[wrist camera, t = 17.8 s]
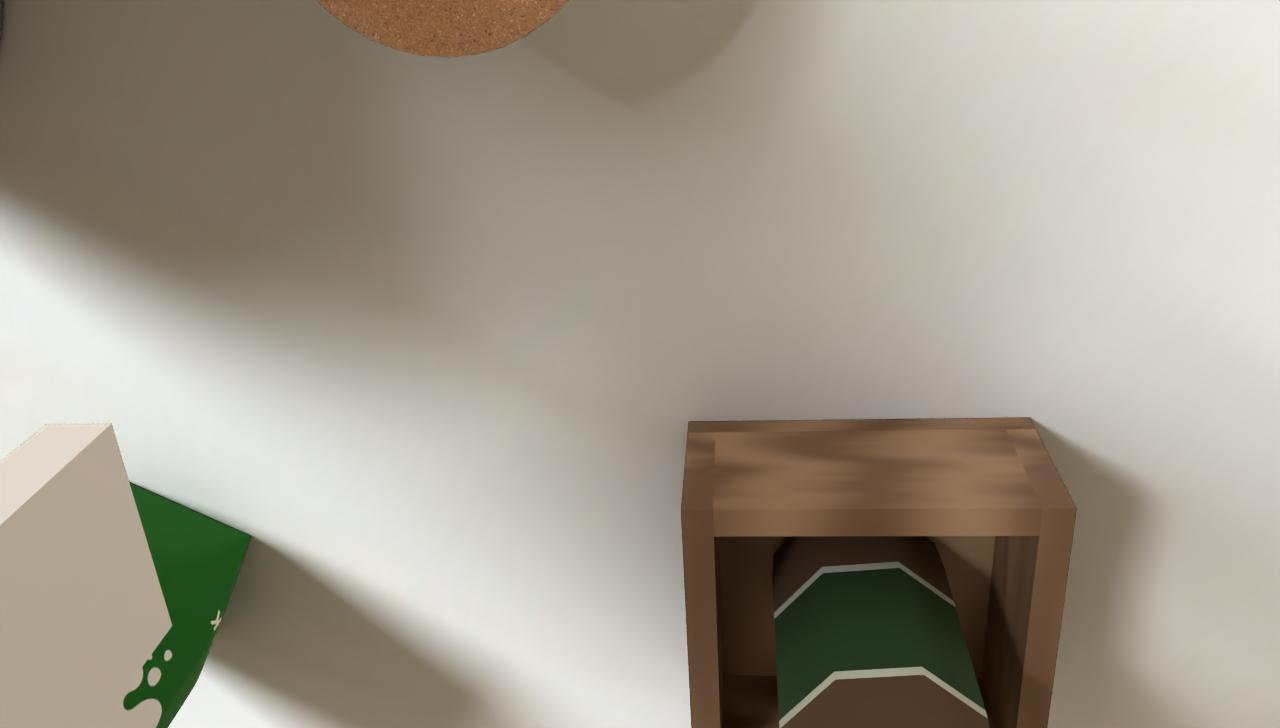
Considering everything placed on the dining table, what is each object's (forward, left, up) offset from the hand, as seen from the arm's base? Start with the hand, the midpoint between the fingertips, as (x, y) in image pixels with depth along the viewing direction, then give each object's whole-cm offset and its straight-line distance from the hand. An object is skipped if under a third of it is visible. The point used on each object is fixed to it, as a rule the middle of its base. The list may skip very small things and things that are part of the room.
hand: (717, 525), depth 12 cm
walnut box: (+5, -23, -32) cm, 39 cm away
